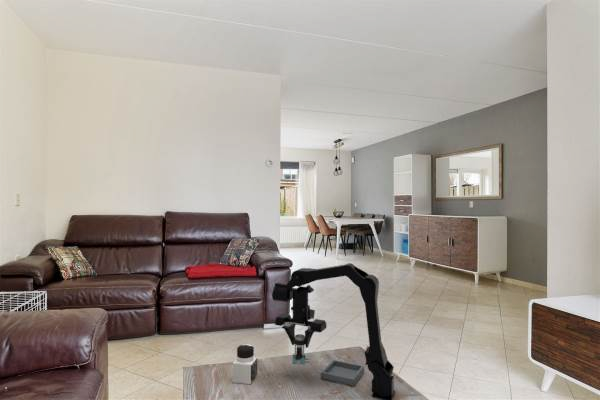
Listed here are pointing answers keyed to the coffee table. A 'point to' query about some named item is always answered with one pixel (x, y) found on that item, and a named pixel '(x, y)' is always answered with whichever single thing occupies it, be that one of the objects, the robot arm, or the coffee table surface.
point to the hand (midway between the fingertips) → (300, 346)
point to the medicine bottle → (245, 365)
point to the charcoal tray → (342, 373)
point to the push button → (299, 350)
